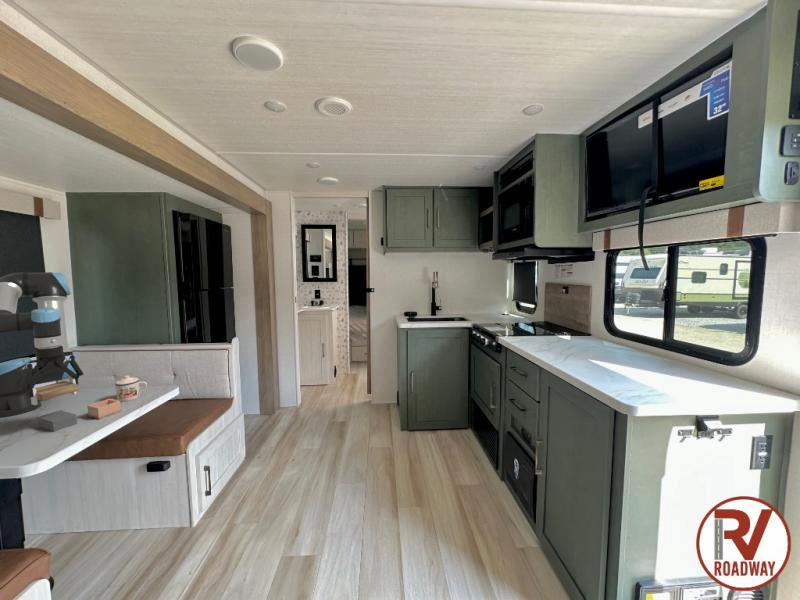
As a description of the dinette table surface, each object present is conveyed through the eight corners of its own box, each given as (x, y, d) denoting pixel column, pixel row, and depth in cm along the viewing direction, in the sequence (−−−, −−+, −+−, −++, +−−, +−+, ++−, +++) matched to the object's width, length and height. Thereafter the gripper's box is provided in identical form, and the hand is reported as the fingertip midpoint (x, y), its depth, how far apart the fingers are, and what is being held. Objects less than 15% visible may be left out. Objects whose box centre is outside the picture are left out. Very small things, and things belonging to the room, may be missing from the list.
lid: (28, 396, 127) (27, 390, 126) (65, 386, 137) (64, 380, 137) (42, 400, 123) (41, 394, 122) (79, 390, 133) (78, 384, 133)
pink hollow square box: (88, 416, 138) (87, 405, 138) (110, 409, 146) (109, 398, 145) (99, 419, 135) (97, 408, 135) (121, 411, 143) (120, 401, 142)
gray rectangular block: (38, 426, 130) (37, 417, 129) (61, 419, 136) (60, 410, 136) (53, 431, 125) (52, 421, 125) (77, 423, 132) (76, 414, 131)
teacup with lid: (116, 403, 152) (114, 380, 151) (116, 398, 158) (114, 375, 157) (148, 397, 160) (146, 374, 159) (147, 392, 166) (145, 370, 165)
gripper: (9, 355, 115) (17, 412, 118) (91, 341, 137) (96, 389, 139) (0, 353, 118) (7, 408, 120) (81, 339, 140) (86, 387, 142)
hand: (55, 398), depth 130 cm, fingers closed on lid, 11 cm apart
